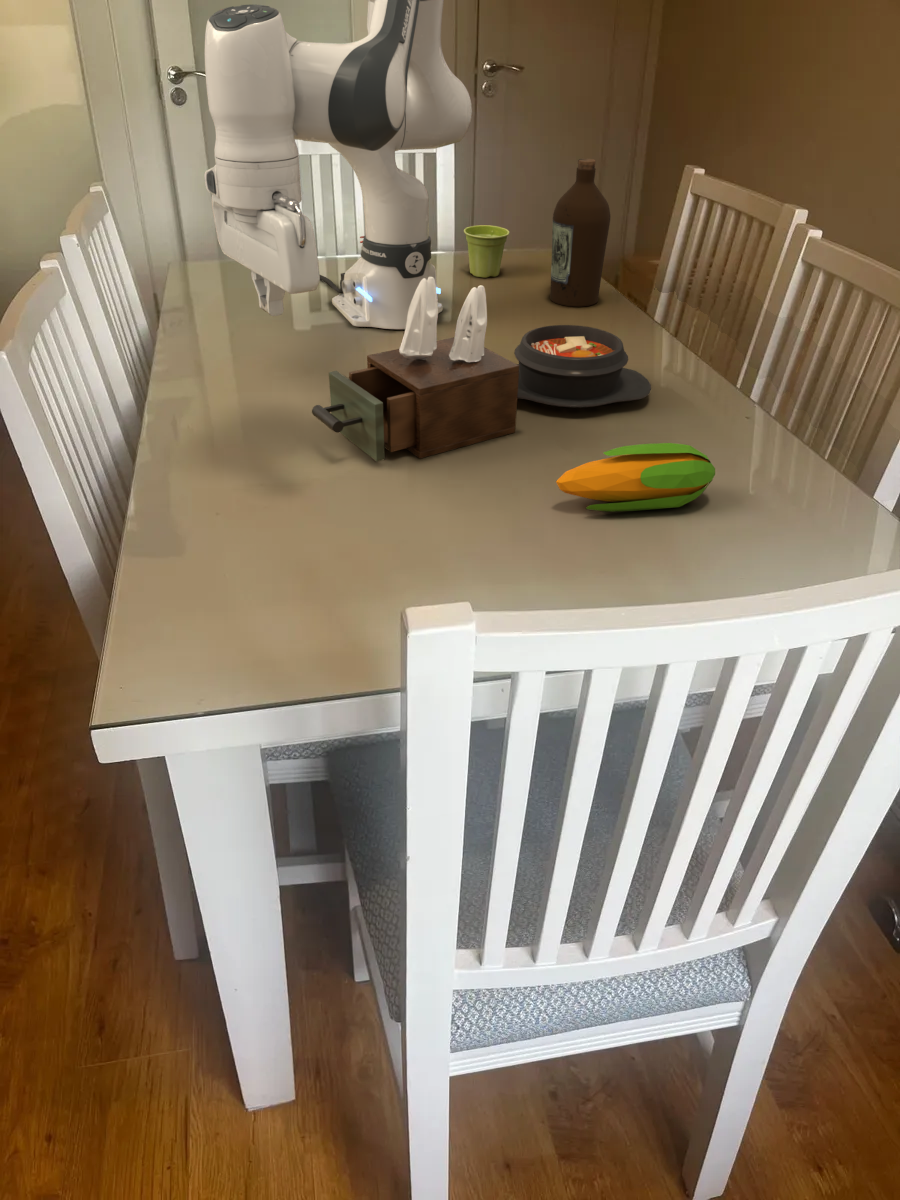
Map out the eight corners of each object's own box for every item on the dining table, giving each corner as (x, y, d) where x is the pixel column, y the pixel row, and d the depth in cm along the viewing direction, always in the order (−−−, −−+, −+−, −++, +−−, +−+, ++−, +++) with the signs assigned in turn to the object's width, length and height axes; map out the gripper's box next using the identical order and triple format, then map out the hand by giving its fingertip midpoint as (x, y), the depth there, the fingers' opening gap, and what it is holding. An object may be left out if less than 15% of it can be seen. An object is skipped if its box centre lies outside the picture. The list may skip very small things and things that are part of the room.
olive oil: (583, 289, 184) (596, 153, 170) (611, 304, 176) (628, 163, 162) (537, 295, 181) (546, 156, 166) (563, 311, 173) (576, 167, 158)
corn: (732, 453, 107) (569, 465, 103) (722, 512, 111) (564, 525, 107) (705, 430, 113) (550, 441, 110) (696, 487, 117) (546, 499, 114)
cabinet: (419, 458, 121) (419, 389, 116) (369, 421, 131) (366, 355, 125) (515, 432, 129) (519, 365, 123) (460, 399, 138) (462, 335, 132)
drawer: (346, 469, 116) (343, 412, 112) (303, 433, 125) (298, 378, 120) (469, 436, 125) (471, 381, 120) (421, 404, 134) (421, 352, 129)
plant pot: (512, 270, 194) (514, 227, 189) (499, 282, 187) (502, 238, 182) (470, 265, 197) (471, 223, 192) (456, 277, 189) (457, 233, 184)
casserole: (486, 417, 133) (488, 361, 128) (485, 369, 148) (487, 318, 143) (658, 421, 132) (667, 365, 127) (640, 373, 147) (647, 321, 143)
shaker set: (399, 367, 121) (398, 283, 115) (396, 356, 125) (395, 273, 118) (488, 364, 123) (492, 280, 117) (483, 353, 126) (486, 271, 120)
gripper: (330, 199, 93) (337, 333, 101) (249, 166, 107) (261, 286, 115) (273, 206, 90) (285, 343, 98) (198, 171, 104) (214, 293, 112)
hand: (271, 312), depth 107 cm, fingers closed
